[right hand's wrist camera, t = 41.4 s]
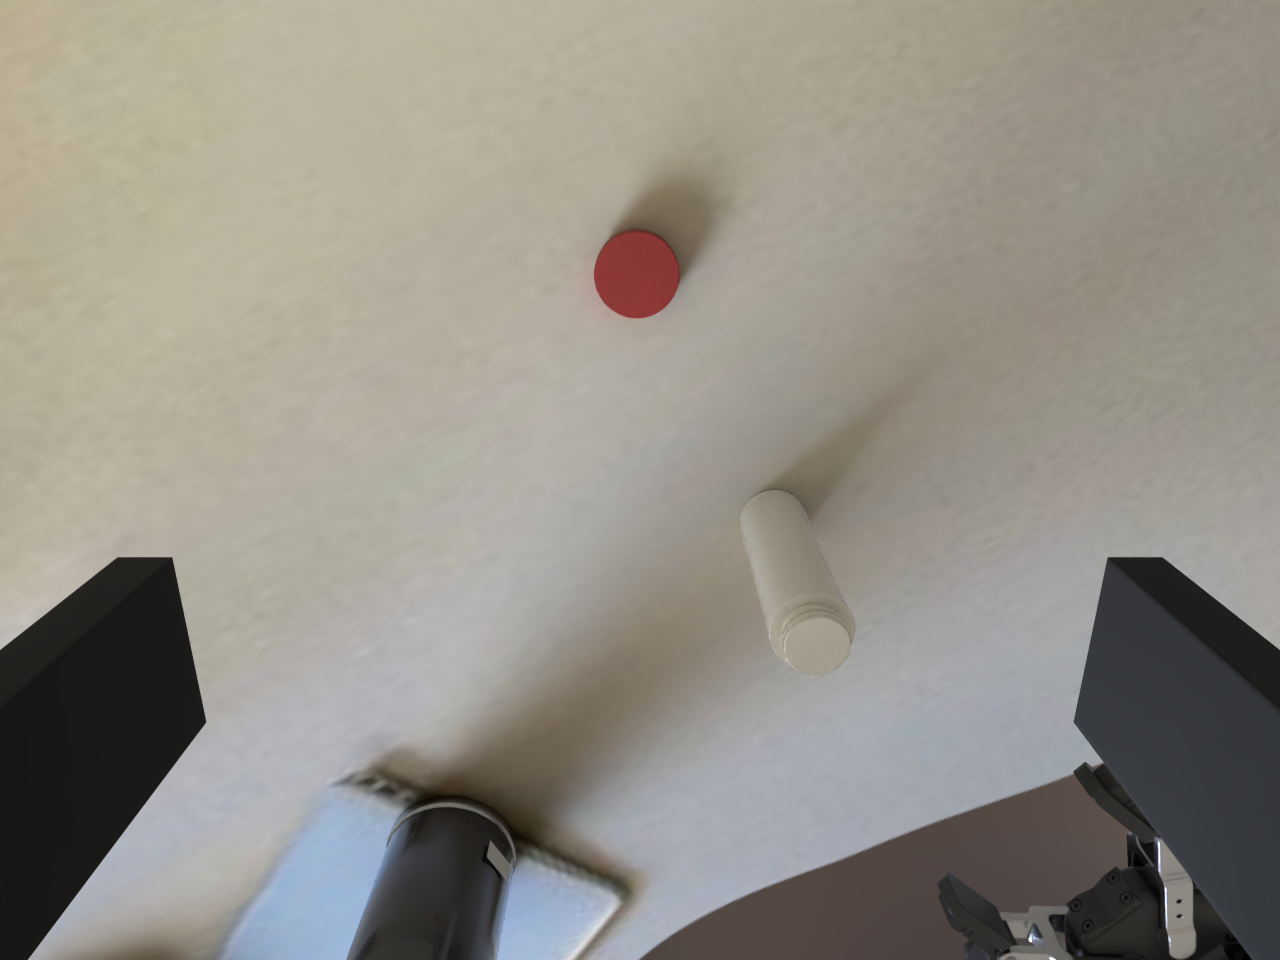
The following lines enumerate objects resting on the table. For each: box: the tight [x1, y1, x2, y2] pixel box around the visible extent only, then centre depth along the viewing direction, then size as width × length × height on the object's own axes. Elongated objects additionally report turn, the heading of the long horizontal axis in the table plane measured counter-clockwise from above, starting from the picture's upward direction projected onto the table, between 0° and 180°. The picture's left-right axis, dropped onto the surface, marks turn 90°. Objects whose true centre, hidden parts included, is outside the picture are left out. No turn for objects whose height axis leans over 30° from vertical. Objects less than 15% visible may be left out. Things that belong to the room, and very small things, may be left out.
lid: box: [594, 229, 679, 318], centre depth 50 cm, size 5×5×2 cm
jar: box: [740, 490, 855, 675], centre depth 49 cm, size 4×4×15 cm
